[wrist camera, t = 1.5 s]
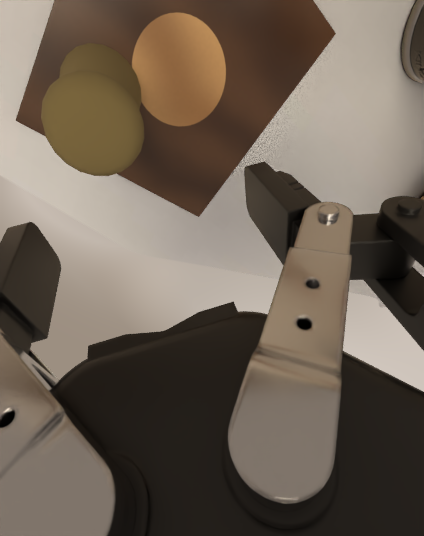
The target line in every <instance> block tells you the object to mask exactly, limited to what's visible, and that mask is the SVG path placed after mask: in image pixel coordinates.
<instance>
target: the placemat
mask: <svg viewBox="0 0 424 536" xmlns="http://www.w3.org/2000/svg"><path fill="white" fill-rule="evenodd" d="M335 34H336V33H335V32H334V30H333V29H332V27H331V26H330V24H329V23H328V22H327V20H326V19H325V17H324V16H323V14H322V13H321V11H320V10H319V8H318V7H317V5H316V4H315V2H314V1H313V0H55V1H54V4H53V7H52V10H51V13H50V16H49V19H48V23H47V26H46V29H45V32H44V35H43V38H42V41H41V44H40V47H39V50H38V53H37V56H36V60H35V63H34V66H33V69H32V72H31V75H30V78H29V81H28V84H27V87H26V90H25V94H24V97H23V100H22V103H21V106H20V109H19V112H18V115H17V118H16V121H18V122H19V123H21V124H23V125H25V126H27V127H29V128H31V129H33V130H35V131H37V132H38V133H40V134H42V135H44V136H46V135H45V131H44V127H43V123H42V119H41V112H42V100H43V98H44V96H45V94H46V92H47V90H48V88H49V86H50V85H51V84H52V83H54V82H55V81H56V80H57V79H58V78H59V75H60V67H61V65H62V63H63V61H64V59H65V57H66V55H67V54H68V53H69V52H71V51H72V50H73V49H74V48H75V47H77V46H80V45H84V44H88V43H93V44H102V45H105V46H107V47H109V48H111V49H113V50H115V51H117V52H118V53H119V54H120V55H122V56H123V57H124V58H125V59H126V60H127V61H128V62H129V64H130V65H131V67H132V68H133V70H134V71H135V73H136V75H137V78H138V81H139V84H140V87H141V105H140V109H139V110H140V113H141V116H142V119H143V122H144V141H143V145H142V148H141V152H140V153H139V155H138V156H137V157H136V159H135V160H134V162H133V163H132V165H130V166H129V167H127V168H126V169H125V170H123V171H122V172H119V173H116V174H118V175H120V176H122V177H124V178H126V179H128V180H130V181H132V182H134V183H135V184H137V185H139V186H141V187H143V188H145V189H147V190H149V191H151V192H153V193H154V194H156V195H158V196H160V197H162V198H164V199H166V200H168V201H170V202H172V203H174V204H175V205H177V206H179V207H181V208H183V209H185V210H187V211H189V212H191V213H193V214H194V215H196V216H198V217H199V216H200V215H201V213H202V212H203V210H204V209H205V208H206V206H207V205H208V204H209V202H210V201H211V200H212V198H213V197H214V196H215V194H216V193H217V192H218V190H219V189H220V188H221V186H222V185H223V184H224V182H225V181H226V180H227V178H228V177H229V176H230V174H231V173H232V172H233V170H234V169H235V168H236V166H237V165H238V164H239V162H240V161H241V160H242V158H243V157H244V156H245V154H246V153H247V152H248V150H249V149H250V148H251V146H252V145H253V144H254V142H255V141H256V140H257V138H258V137H259V136H260V134H261V133H262V132H263V130H264V129H265V128H266V126H267V125H268V124H269V122H270V121H271V120H272V118H273V117H274V115H275V114H276V113H277V111H278V110H279V109H280V107H281V106H282V105H283V103H284V102H285V101H286V99H287V98H288V97H289V95H290V94H291V93H292V91H293V90H294V89H295V87H296V86H297V85H298V83H299V82H300V81H301V79H302V78H303V77H304V75H305V74H306V73H307V71H308V70H309V69H310V67H311V66H312V65H313V63H314V62H315V61H316V59H317V58H318V57H319V55H320V54H321V53H322V51H323V50H324V49H325V47H326V46H327V45H328V43H329V42H330V41H331V39H332V38H333V37H334V35H335Z"/></svg>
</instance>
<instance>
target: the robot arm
mask: <svg viewBox="0 0 424 536" xmlns="http://www.w3.org/2000/svg"><path fill="white" fill-rule="evenodd" d="M402 61H403V66H404V69H405V71H406V73H407V74H408V76H409V77H410V78H411V79H413V80H414V81H416V82H420V83H424V0H417V1H416V3H415V5H414V7H413V9H412V11H411V14H410V16H409V19H408V22H407V25H406V28H405V32H404V36H403V42H402ZM244 175H245V190H246V204H247V209H248V212H249V215H250V217H251V219H252V220H253V222H254V223H255V225H256V226H257V227H258V229H259V230H260V232H261V233H262V235H263V236H264V238H265V239H266V241H267V242H268V244H269V245H270V246H271V248H272V249H273V251H274V252H275V254H276V255H277V257H278V258H279V260H280V261H281V262H282V264H283V265H284V266H283V269H282V272H281V275H280V279H279V282H278V285H277V288H276V291H275V294H274V297H273V301H272V303H271V307H270V310H269V313H268V315H267V314H263V313H258V312H246V311H245V312H244V311H243V312H238V311H237V309H236V307H235V304H234V302H231V303H227V304H224V305H221V306H218V307H214V308H211V309H208V310H204V311H201V312H198V313H197V314H195V315H193V316H191V317H189V318H187V319H186V320H184V321H182V322H180V323H179V324H177V325H175V326H173V327H171V328H169V329H167V330H165V331H161V332H151V333H138V334H126V335H122V336H119V337H116V338H113V339H109V340H106V341H103V342H99V343H96V344H93V345H90V346H88V359H86V360H84V361H83V362H81V363H80V364H78V365H77V366H75V367H74V368H73V369H71V370H70V371H69V372H68V373H67V374H65V375H64V376H63V377H62V378H61V379H60V380H59V379H58V378H57V377H56V376H55V375H54V374H53V373H52V372H51V370H49V368H48V367H47V366H46V365H45V364H44V363H43V362H42V361H41V360H40V358H39V357H38V356H37V355H36V354H35V353H34V352H33V351H32V350H30V347H31V343H33V342H36V341H40V340H43V339H46V338H47V337H48V332H49V327H50V322H51V317H52V312H53V307H54V302H55V297H56V292H57V287H58V282H59V276H60V272H61V264H60V261H59V258H58V256H57V254H56V253H55V252H54V250H53V249H52V247H51V246H50V244H49V243H48V241H47V240H46V239H45V237H44V236H43V234H42V233H41V231H40V230H39V228H38V227H37V226H36V225H35V224H34V223H32V222H29V223H25V224H21V225H17V226H13V227H10V228H8V229H7V230H6V233H5V234H4V236H3V239H2V241H1V243H0V536H424V392H423V391H421V390H419V389H417V388H415V387H413V386H411V385H409V384H407V383H405V382H403V381H401V380H399V379H397V378H395V377H393V376H391V375H389V374H387V373H385V372H383V371H381V370H379V369H377V368H375V367H374V366H372V365H369V364H367V363H366V362H364V361H362V360H360V359H358V358H356V357H354V356H352V355H350V354H348V353H346V352H344V351H343V341H344V331H345V320H346V311H347V301H348V291H349V281H350V280H364V281H365V282H366V283H367V284H368V286H369V287H370V288H371V289H372V290H373V291H374V293H375V294H376V295H377V296H378V297H379V299H380V300H381V301H382V302H383V303H384V304H385V306H386V307H387V308H388V309H389V310H390V311H391V313H392V314H393V315H394V316H395V317H396V319H398V321H399V322H400V323H401V324H402V326H403V327H404V328H405V329H406V330H407V332H408V333H409V334H410V335H411V336H412V337H413V339H414V340H415V341H416V342H417V343H418V345H419V346H420V347H421V348H422V349H423V350H424V277H423V276H422V275H421V274H420V273H419V272H418V271H416V270H415V269H414V268H413V267H412V266H413V264H414V262H415V260H416V261H417V262H419V263H420V264H421V265H422V266H423V267H424V200H422V199H419V198H415V197H408V196H399V197H392V198H389V199H387V200H385V201H384V202H383V203H382V205H381V208H380V211H379V213H377V214H362V215H353V212H352V211H351V210H350V209H349V208H348V207H346V206H344V205H342V204H339V203H334V202H321V201H319V200H318V199H317V198H316V197H315V196H314V195H313V194H312V193H310V192H309V191H308V190H307V189H306V188H304V186H303V185H302V184H300V183H298V181H297V180H296V179H295V178H294V177H293V176H291V175H289V174H287V173H284V172H281V171H278V172H275V171H274V170H273V169H272V168H271V167H270V166H269V165H268V164H267V163H266V162H261V163H258V164H254V165H250V166H246V167H245V171H244Z"/></svg>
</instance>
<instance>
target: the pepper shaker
mask: <svg viewBox="0 0 424 536" xmlns="http://www.w3.org/2000/svg"><path fill="white" fill-rule="evenodd" d="M140 105H141V87H140V84H139V81H138V78H137V75H136V73H135V71H134V70H133V68H132V67H131V65H130V64H129V62H128V61H127V60H126V59H125V58H124V57H123V56H122V55H120V54H119V53H118V52H117V51H115V50H113V49H111V48H109V47H107V46H105V45H102V44H93V43H88V44H84V45H80V46H77V47H75V48H74V49H73V50H72V51H71V52H69V53H68V54H67V55H66V57H65V59H64V61H63V63H62V65H61V67H60V75H59V78H58V79H57V80H56V81H55V82H54V83H52V84H51V85H50V86H49V88H48V90H47V92H46V94H45V96H44V98H43V100H42V112H41V119H42V123H43V127H44V131H45V135H46V138H47V140H48V141H49V143H50V145H51V146H52V148H53V150H54V151H55V153H56V154H57V155H58V156H59V157H60V158H61V159H62V160H63V161H64V162H66V163H67V164H68V165H70V166H72V167H73V168H75V169H77V170H78V171H80V172H84V173H87V174H91V175H94V176H109V175H113V174H116V173H119V172H122V171H123V170H125V169H126V168H127V167H129V166H130V165H132V163H133V162H134V160H135V159H136V157H137V156H138V155H139V153H140V152H141V148H142V145H143V141H144V122H143V119H142V116H141V113H140V110H139V109H140Z"/></svg>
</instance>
